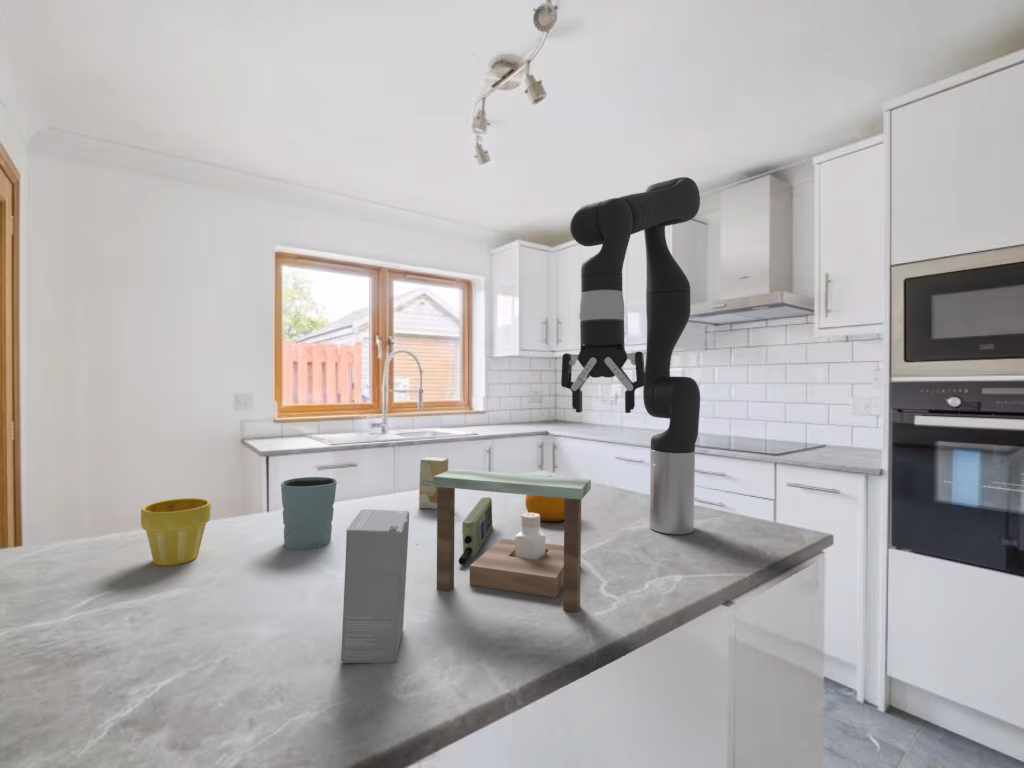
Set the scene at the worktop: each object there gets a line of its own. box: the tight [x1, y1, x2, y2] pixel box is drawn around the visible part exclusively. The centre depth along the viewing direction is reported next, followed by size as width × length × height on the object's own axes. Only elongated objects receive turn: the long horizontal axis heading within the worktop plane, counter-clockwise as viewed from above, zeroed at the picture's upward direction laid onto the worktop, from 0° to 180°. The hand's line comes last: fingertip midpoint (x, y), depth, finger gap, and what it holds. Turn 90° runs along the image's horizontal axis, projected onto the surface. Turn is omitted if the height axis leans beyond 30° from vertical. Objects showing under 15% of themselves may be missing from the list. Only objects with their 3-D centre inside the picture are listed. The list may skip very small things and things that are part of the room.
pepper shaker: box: [514, 512, 546, 560], centre depth 88 cm, size 4×4×10 cm
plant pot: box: [140, 497, 212, 566], centre depth 91 cm, size 10×10×10 cm
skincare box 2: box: [418, 456, 449, 510], centre depth 129 cm, size 6×4×12 cm
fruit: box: [525, 495, 565, 522], centre depth 120 cm, size 12×12×10 cm
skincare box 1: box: [340, 509, 410, 664], centre depth 63 cm, size 8×7×16 cm
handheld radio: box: [458, 496, 493, 566], centre depth 101 cm, size 7×3×25 cm
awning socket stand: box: [433, 468, 592, 613], centre depth 84 cm, size 19×23×18 cm
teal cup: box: [280, 476, 337, 550], centre depth 101 cm, size 10×10×12 cm
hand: (603, 412), depth 90 cm, fingers open, 8 cm apart
